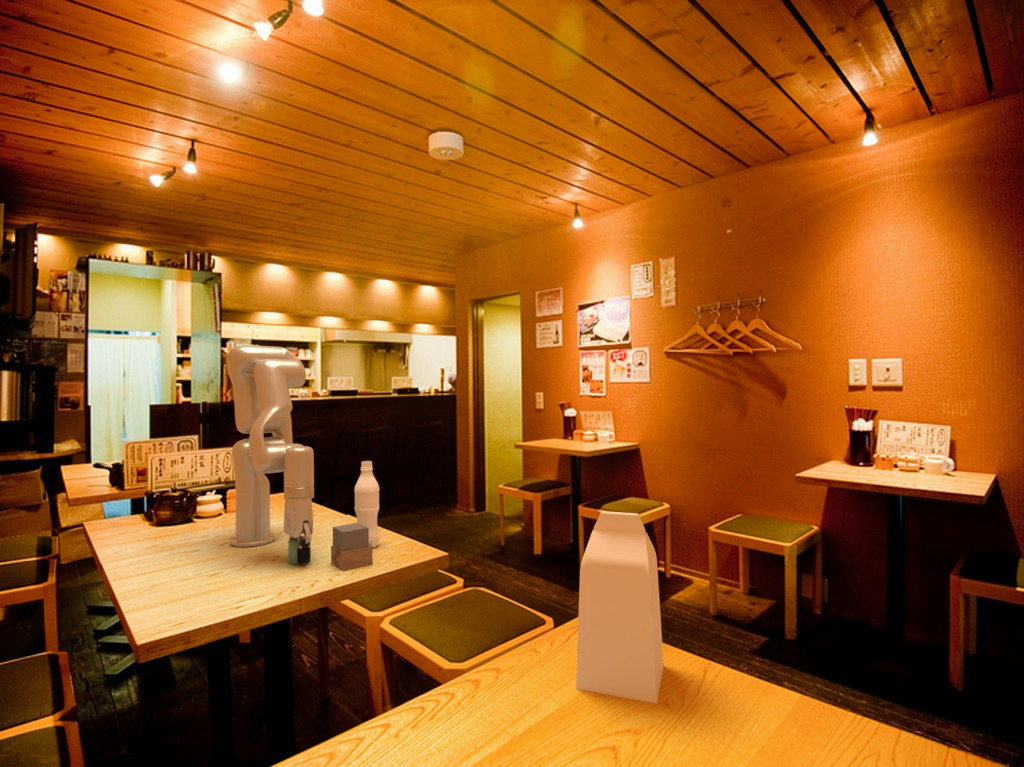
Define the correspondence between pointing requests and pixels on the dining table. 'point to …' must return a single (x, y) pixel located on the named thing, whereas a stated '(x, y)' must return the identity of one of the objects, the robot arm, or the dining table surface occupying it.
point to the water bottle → (367, 501)
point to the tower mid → (350, 537)
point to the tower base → (351, 558)
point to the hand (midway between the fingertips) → (299, 559)
